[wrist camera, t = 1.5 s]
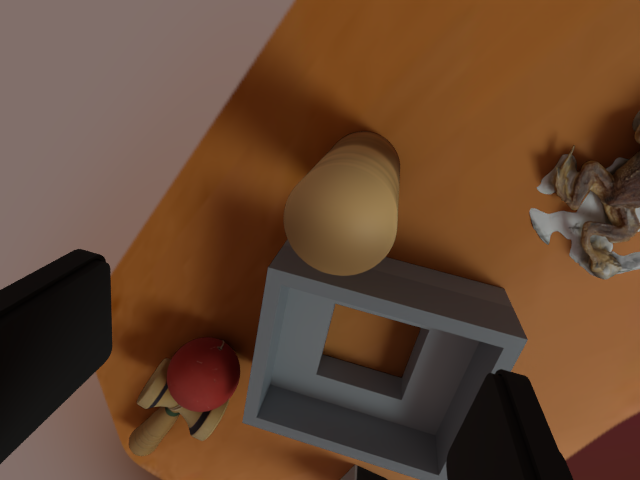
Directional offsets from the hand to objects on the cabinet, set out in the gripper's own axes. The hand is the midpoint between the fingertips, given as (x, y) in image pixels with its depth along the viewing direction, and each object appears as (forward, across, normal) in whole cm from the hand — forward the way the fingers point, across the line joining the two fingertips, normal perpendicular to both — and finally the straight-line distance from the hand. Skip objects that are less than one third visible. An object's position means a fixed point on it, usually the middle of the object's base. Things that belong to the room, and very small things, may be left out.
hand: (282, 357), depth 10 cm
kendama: (+20, +11, +25) cm, 34 cm away
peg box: (+20, -4, +13) cm, 24 cm away
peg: (+20, 0, 0) cm, 20 cm away
